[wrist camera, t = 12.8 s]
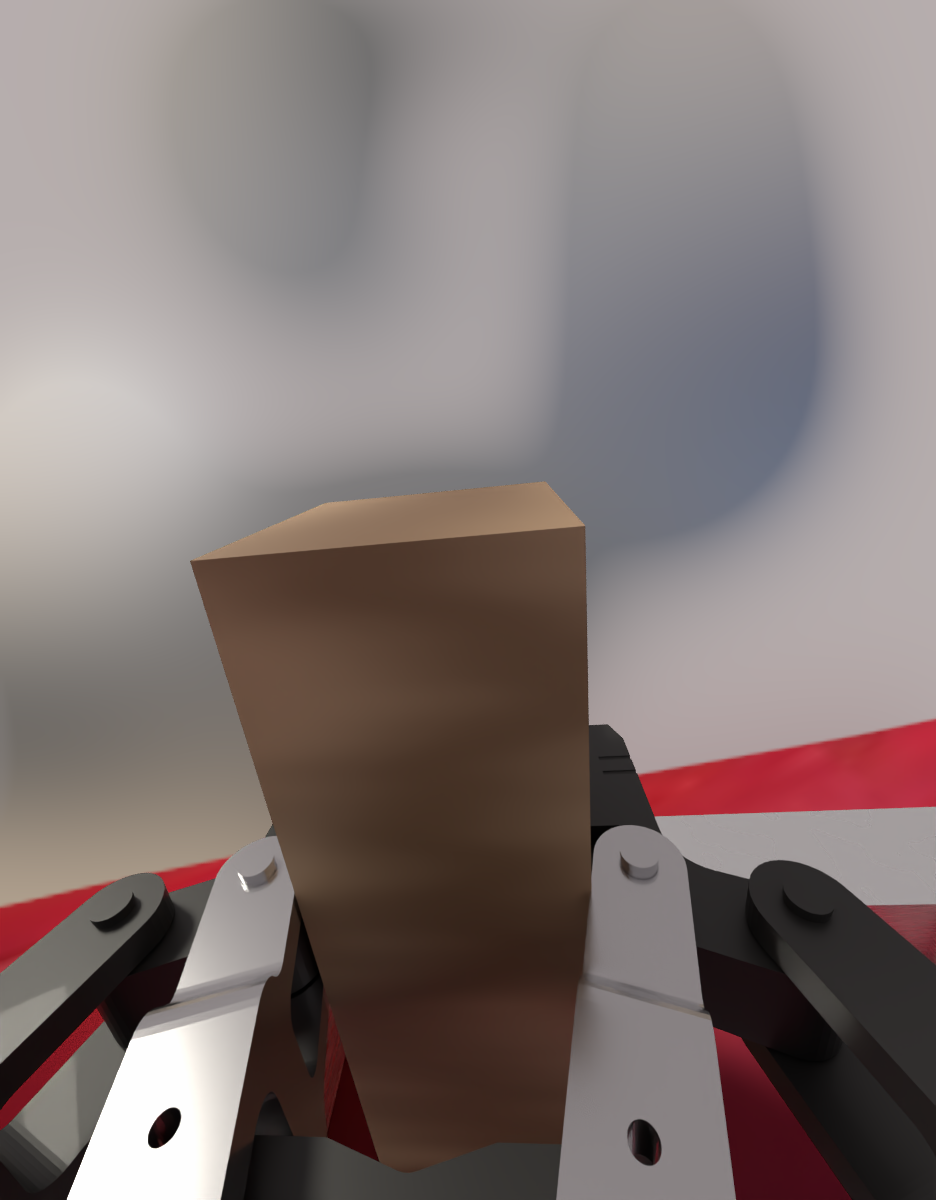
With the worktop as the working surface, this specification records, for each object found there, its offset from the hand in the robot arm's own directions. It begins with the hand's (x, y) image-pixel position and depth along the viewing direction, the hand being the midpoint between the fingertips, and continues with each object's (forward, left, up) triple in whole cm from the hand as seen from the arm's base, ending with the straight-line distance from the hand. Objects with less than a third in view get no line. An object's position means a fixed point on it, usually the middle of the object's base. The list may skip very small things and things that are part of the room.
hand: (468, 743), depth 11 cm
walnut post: (0, -3, -8) cm, 8 cm away
